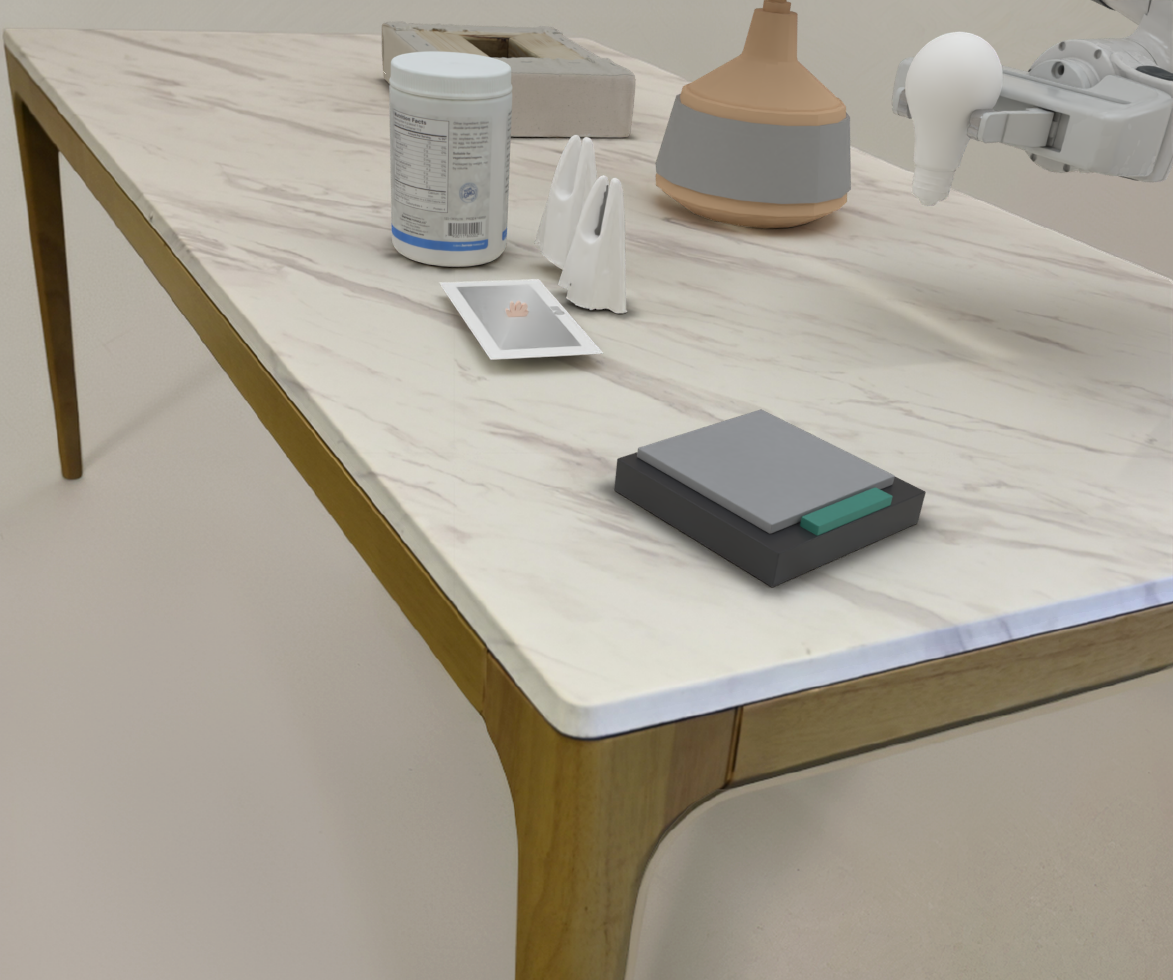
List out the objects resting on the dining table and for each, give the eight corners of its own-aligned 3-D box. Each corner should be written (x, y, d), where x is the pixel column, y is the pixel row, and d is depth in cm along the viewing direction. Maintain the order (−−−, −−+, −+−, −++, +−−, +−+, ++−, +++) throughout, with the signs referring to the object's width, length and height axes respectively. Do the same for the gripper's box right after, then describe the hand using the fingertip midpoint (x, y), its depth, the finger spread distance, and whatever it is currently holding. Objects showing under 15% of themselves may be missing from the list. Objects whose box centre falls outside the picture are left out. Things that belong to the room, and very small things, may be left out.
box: (377, 80, 159) (437, 138, 134) (377, 15, 155) (439, 62, 130) (547, 85, 167) (633, 141, 142) (551, 23, 163) (641, 69, 138)
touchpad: (490, 375, 80) (491, 343, 79) (438, 296, 92) (438, 268, 91) (602, 368, 83) (604, 338, 82) (538, 292, 95) (539, 265, 93)
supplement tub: (432, 227, 107) (433, 45, 99) (527, 249, 104) (536, 63, 96) (367, 253, 99) (363, 59, 91) (467, 279, 96) (472, 80, 88)
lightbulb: (917, 220, 81) (955, 40, 75) (865, 195, 85) (897, 23, 79) (991, 216, 83) (1033, 40, 77) (935, 191, 88) (972, 24, 82)
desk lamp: (718, 171, 132) (772, -238, 112) (881, 210, 123) (970, -226, 104) (604, 207, 116) (644, -260, 97) (782, 255, 108) (864, -247, 88)
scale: (918, 523, 68) (929, 481, 66) (772, 587, 61) (780, 542, 59) (759, 441, 75) (766, 402, 74) (613, 490, 68) (617, 448, 67)
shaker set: (530, 264, 100) (538, 123, 94) (579, 262, 102) (589, 123, 96) (577, 316, 91) (589, 163, 85) (629, 313, 92) (645, 163, 86)
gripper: (984, 33, 93) (843, 35, 86) (1218, 88, 78) (1070, 95, 72) (964, 120, 96) (828, 128, 90) (1186, 188, 81) (1041, 204, 75)
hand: (937, 114), depth 80 cm, fingers closed on lightbulb, 6 cm apart
